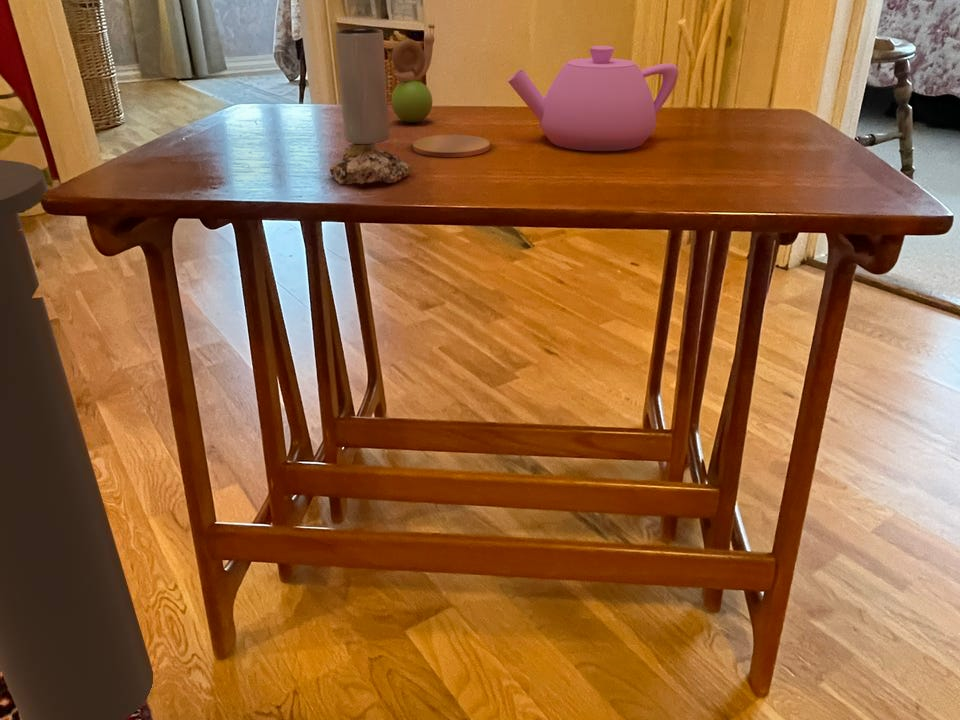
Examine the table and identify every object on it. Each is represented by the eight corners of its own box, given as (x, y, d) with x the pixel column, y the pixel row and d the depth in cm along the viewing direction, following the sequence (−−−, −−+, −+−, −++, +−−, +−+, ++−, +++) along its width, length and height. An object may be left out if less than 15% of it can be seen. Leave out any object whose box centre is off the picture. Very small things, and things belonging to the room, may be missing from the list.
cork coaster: (421, 160, 87) (421, 154, 87) (406, 142, 95) (406, 137, 94) (499, 154, 89) (499, 149, 89) (478, 137, 97) (478, 132, 97)
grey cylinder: (387, 144, 78) (380, 33, 73) (341, 144, 78) (332, 33, 73) (390, 134, 82) (384, 28, 77) (347, 134, 82) (338, 28, 77)
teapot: (504, 129, 101) (505, 40, 96) (658, 127, 101) (667, 39, 96) (510, 154, 89) (511, 54, 84) (685, 152, 89) (697, 53, 84)
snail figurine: (446, 122, 105) (444, 25, 99) (405, 128, 102) (400, 28, 96) (425, 115, 109) (422, 22, 103) (385, 121, 106) (379, 25, 100)
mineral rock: (421, 161, 77) (340, 143, 74) (411, 204, 79) (332, 188, 76) (402, 141, 86) (329, 125, 84) (394, 180, 88) (322, 165, 85)
